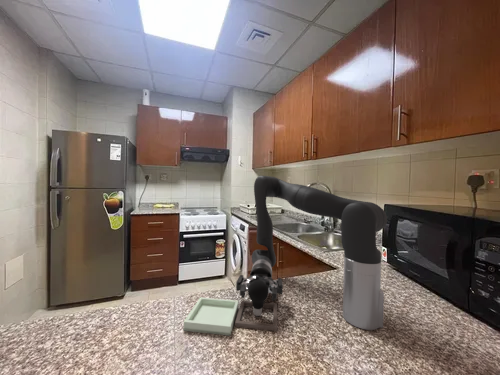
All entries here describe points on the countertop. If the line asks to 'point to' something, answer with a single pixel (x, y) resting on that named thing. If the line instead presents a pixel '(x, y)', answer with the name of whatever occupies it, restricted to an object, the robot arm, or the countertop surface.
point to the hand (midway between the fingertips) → (257, 296)
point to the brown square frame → (255, 324)
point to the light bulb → (258, 295)
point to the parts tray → (212, 316)
